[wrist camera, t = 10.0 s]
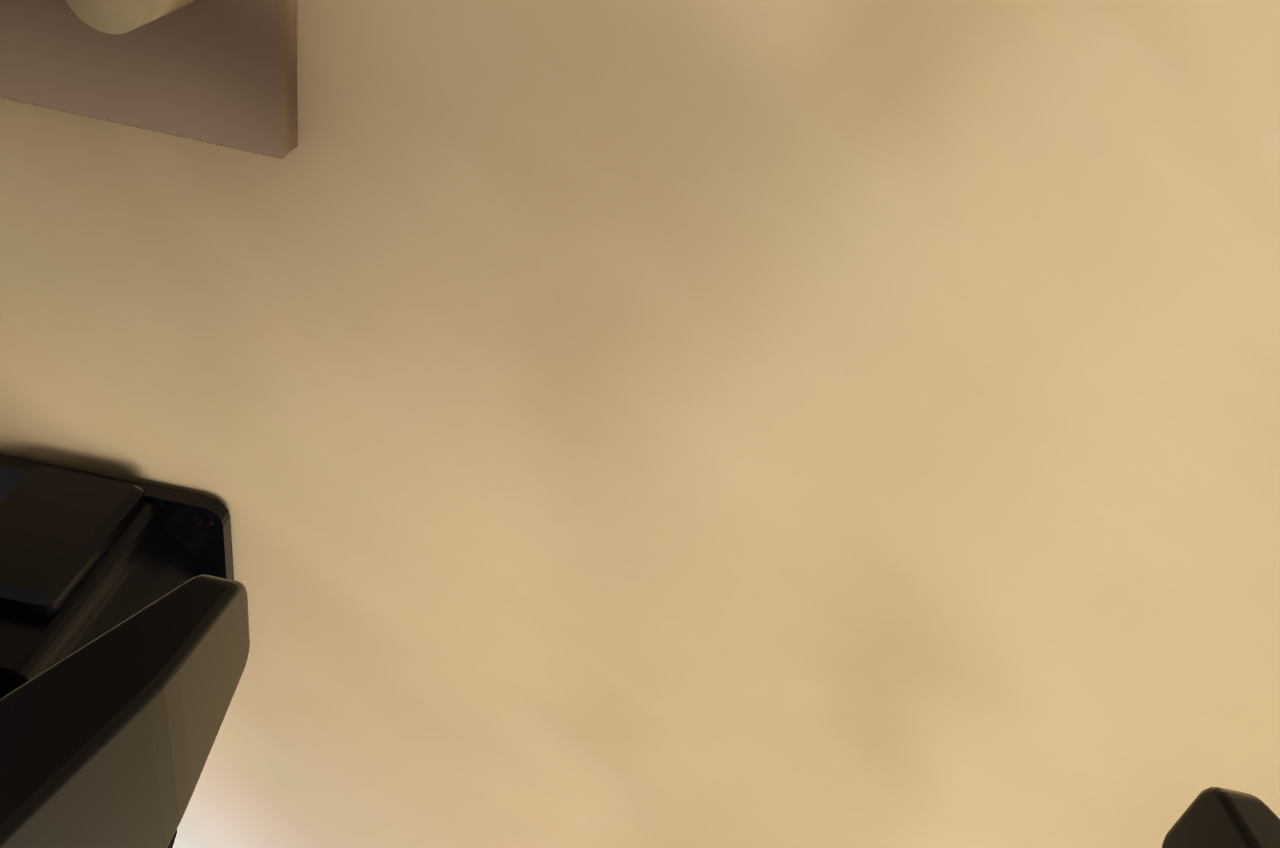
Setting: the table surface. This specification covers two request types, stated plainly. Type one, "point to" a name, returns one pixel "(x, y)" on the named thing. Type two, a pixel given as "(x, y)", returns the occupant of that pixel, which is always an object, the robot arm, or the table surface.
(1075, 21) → the table surface
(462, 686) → the table surface
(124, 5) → the wooden peg board
